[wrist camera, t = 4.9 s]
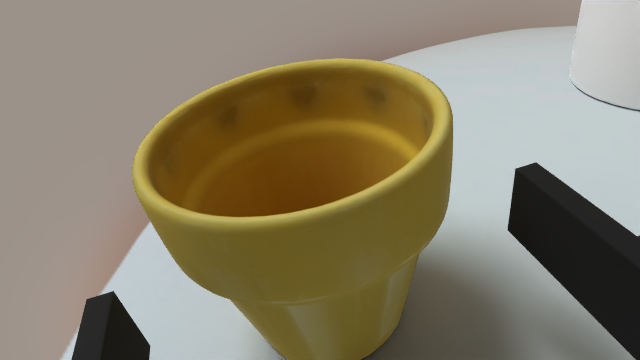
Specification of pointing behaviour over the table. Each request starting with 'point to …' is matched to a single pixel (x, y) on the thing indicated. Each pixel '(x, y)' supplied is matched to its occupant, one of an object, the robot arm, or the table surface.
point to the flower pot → (304, 197)
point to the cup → (608, 52)
